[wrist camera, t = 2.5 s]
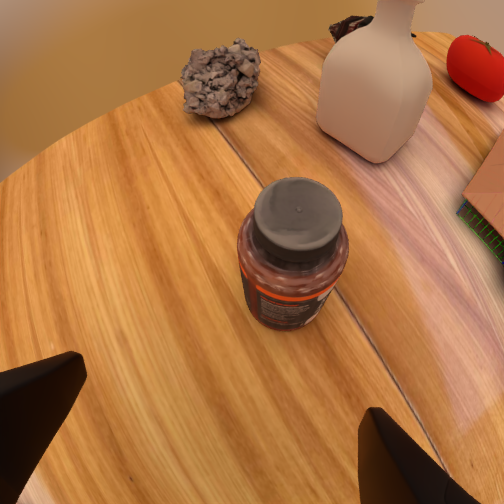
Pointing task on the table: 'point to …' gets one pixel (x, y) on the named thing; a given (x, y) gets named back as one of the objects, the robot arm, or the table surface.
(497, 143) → the house
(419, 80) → the beige ceramic bottle
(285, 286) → the supplement bottle
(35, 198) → the table surface
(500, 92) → the tomato
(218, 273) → the table surface
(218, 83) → the mineral specimen
